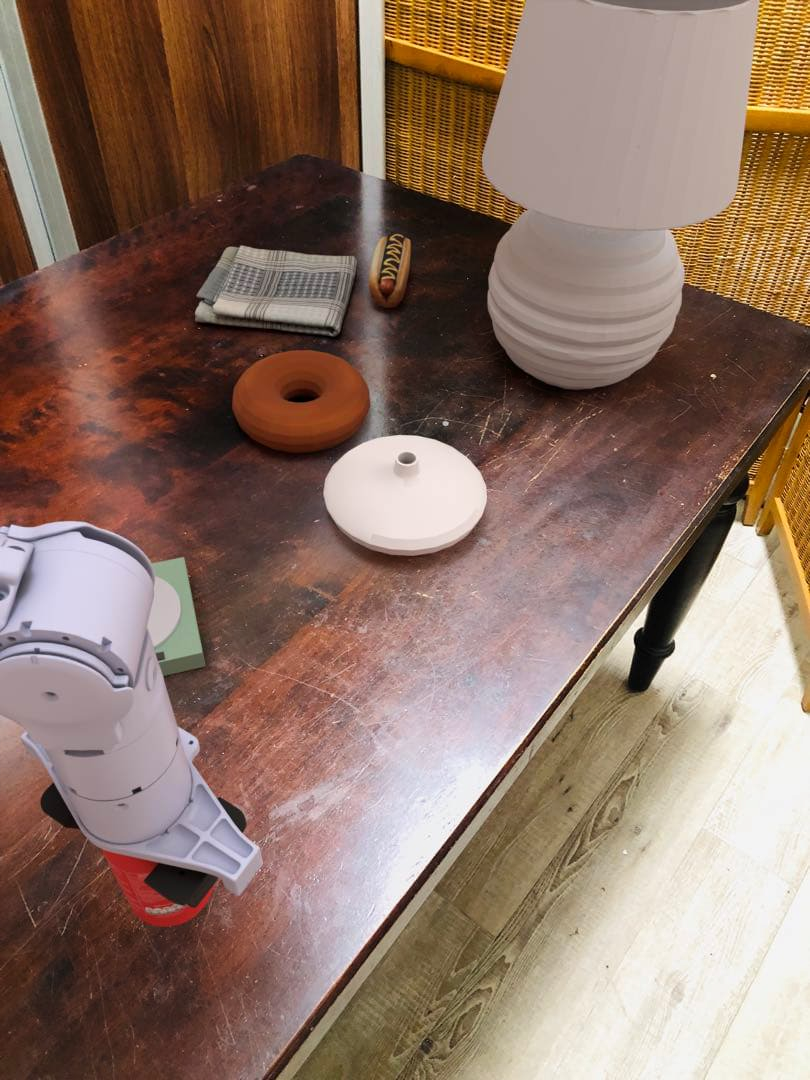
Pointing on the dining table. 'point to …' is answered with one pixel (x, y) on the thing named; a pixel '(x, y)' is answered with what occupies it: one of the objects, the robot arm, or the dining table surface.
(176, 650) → the scale
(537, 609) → the dining table surface
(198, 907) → the beverage can
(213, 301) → the dish towel
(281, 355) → the donut
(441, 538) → the vase
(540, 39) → the table lamp
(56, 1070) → the dining table surface
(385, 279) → the hot dog
